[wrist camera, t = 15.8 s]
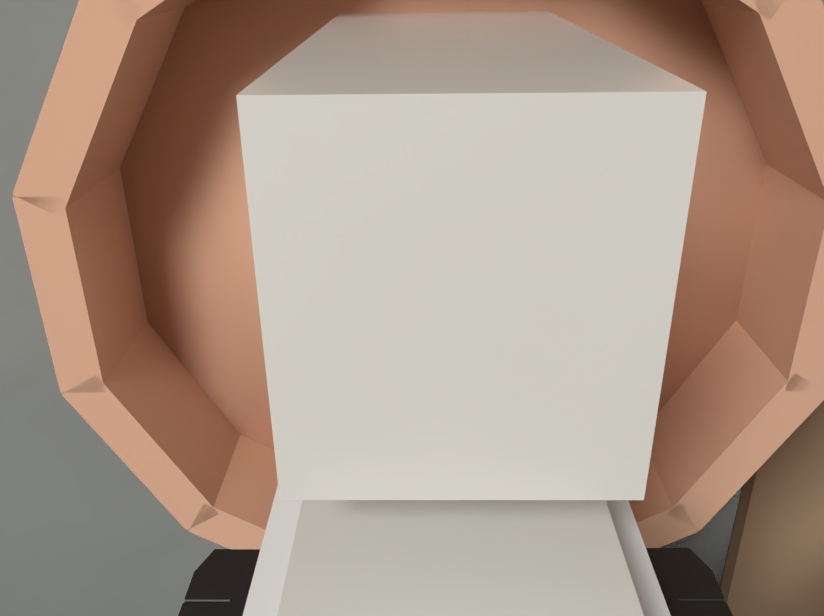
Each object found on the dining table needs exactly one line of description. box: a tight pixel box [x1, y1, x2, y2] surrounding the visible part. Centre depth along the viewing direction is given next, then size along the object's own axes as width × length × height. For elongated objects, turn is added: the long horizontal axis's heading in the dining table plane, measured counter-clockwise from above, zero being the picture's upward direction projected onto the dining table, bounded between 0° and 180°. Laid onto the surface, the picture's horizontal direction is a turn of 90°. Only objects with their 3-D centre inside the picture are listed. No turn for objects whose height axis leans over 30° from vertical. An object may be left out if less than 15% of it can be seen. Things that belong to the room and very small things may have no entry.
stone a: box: [236, 11, 707, 500], centre depth 13 cm, size 4×5×10 cm
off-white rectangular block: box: [277, 500, 644, 616], centre depth 13 cm, size 4×5×10 cm
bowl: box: [12, 0, 824, 549], centre depth 17 cm, size 17×17×4 cm
